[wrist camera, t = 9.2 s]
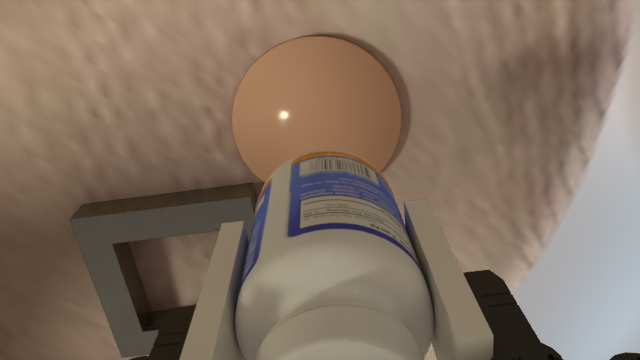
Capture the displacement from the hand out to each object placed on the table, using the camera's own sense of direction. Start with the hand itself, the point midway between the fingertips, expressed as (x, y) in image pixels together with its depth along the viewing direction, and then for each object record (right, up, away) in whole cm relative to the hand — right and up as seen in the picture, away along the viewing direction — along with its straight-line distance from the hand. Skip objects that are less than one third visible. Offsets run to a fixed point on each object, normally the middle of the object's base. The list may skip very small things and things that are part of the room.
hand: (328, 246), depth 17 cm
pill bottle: (0, +1, +3) cm, 3 cm away
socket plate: (-9, -4, +17) cm, 20 cm away
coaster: (0, +6, +13) cm, 14 cm away
